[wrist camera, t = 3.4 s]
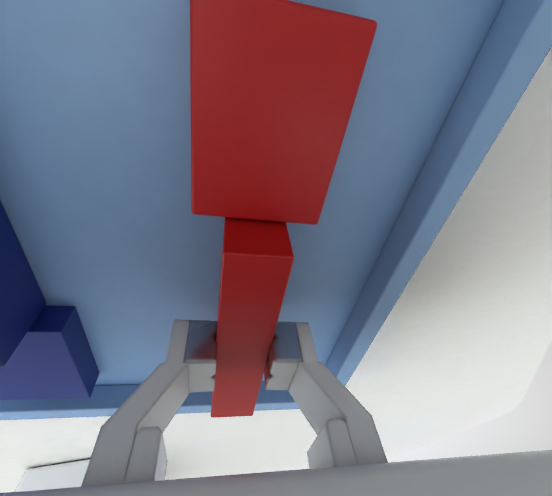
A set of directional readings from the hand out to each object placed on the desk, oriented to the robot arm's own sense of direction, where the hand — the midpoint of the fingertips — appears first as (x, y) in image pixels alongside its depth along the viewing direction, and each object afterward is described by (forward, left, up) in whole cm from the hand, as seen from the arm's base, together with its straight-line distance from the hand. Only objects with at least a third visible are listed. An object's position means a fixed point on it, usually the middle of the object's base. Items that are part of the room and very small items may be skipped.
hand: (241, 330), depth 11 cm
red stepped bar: (-1, 0, -2) cm, 2 cm away
